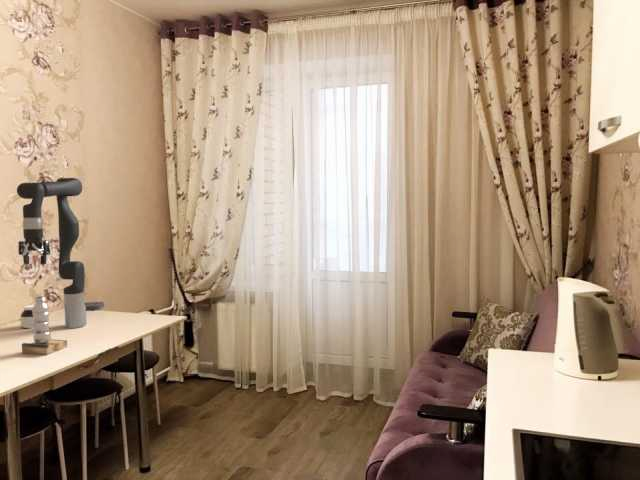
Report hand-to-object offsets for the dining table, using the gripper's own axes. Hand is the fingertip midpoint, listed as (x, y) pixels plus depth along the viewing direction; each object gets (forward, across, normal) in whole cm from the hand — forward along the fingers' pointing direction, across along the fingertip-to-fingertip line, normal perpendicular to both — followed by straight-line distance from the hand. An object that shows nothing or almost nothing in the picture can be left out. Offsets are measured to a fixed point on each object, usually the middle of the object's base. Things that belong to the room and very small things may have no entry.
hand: (35, 264), depth 221 cm
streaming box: (+37, +24, -68) cm, 81 cm away
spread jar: (+36, +27, -27) cm, 53 cm away
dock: (+36, -10, +8) cm, 38 cm away
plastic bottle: (+33, -9, +8) cm, 35 cm away
